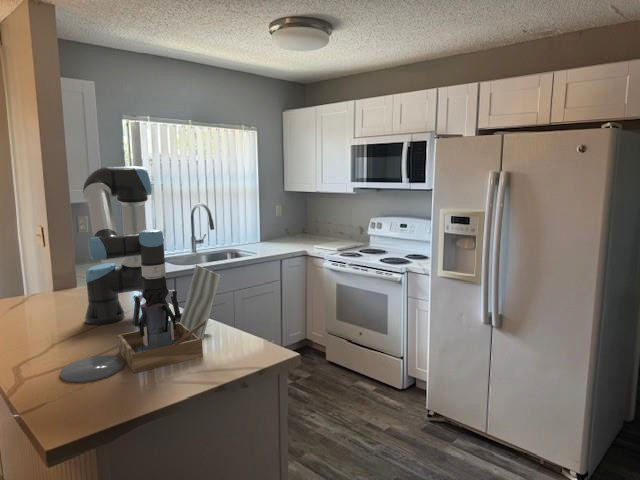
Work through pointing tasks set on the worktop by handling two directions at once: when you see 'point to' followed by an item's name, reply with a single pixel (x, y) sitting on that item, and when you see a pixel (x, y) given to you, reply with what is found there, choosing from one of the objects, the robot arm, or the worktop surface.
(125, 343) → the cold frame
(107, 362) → the disc
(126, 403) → the worktop surface
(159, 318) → the moka pot
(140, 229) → the robot arm
